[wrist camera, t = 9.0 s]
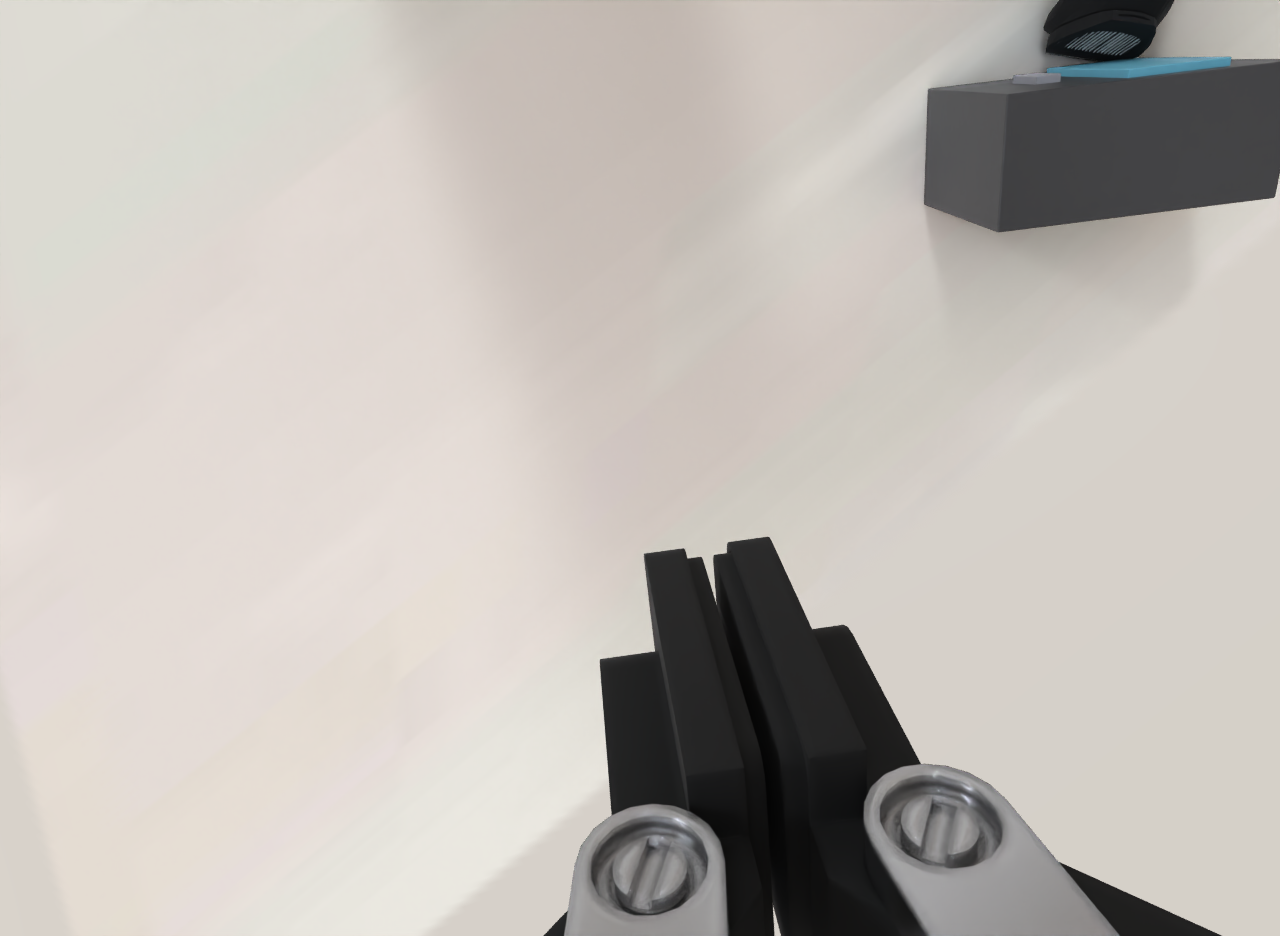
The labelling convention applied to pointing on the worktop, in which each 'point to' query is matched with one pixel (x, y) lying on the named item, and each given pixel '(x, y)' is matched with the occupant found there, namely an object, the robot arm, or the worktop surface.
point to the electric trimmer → (1103, 28)
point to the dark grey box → (1104, 141)
